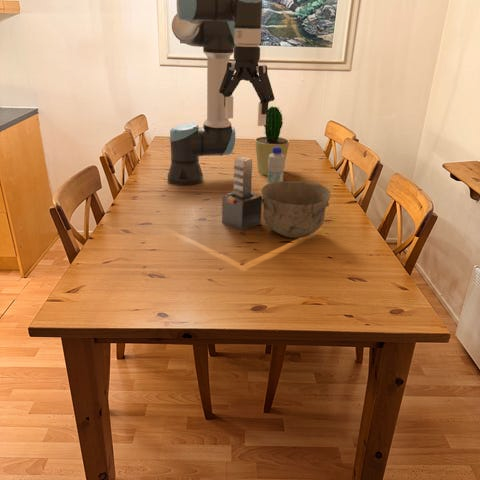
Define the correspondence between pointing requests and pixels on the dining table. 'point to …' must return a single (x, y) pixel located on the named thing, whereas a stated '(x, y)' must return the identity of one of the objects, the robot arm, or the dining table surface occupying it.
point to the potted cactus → (270, 140)
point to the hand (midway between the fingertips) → (244, 121)
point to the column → (242, 177)
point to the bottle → (276, 166)
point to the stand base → (241, 211)
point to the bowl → (295, 207)
